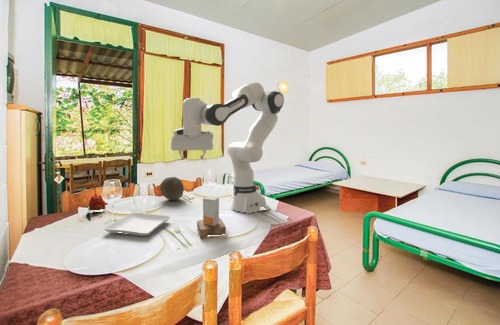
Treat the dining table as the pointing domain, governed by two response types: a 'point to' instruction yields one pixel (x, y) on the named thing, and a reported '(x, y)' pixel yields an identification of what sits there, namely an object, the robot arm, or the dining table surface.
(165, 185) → the dark brown ball
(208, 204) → the skincare box
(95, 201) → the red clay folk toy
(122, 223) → the salad plate
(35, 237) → the dining table surface
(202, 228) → the walnut base
